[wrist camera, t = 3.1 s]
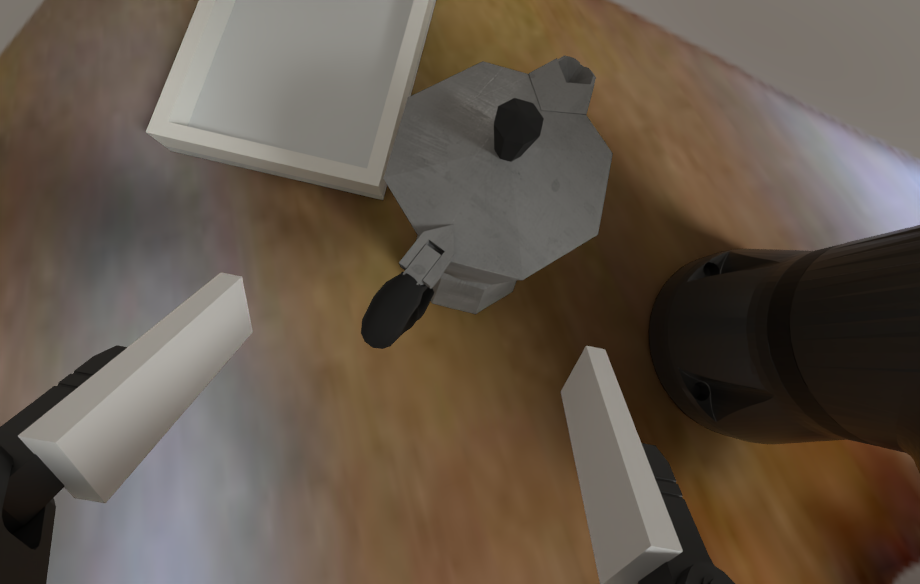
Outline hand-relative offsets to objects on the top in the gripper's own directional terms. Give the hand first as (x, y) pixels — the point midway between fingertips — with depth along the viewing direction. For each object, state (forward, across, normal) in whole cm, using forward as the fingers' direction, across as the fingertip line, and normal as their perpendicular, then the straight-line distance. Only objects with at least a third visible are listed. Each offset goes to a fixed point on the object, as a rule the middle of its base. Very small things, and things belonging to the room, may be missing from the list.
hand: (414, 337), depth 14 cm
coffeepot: (+15, +2, -5) cm, 16 cm away
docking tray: (+26, -14, +7) cm, 31 cm away
